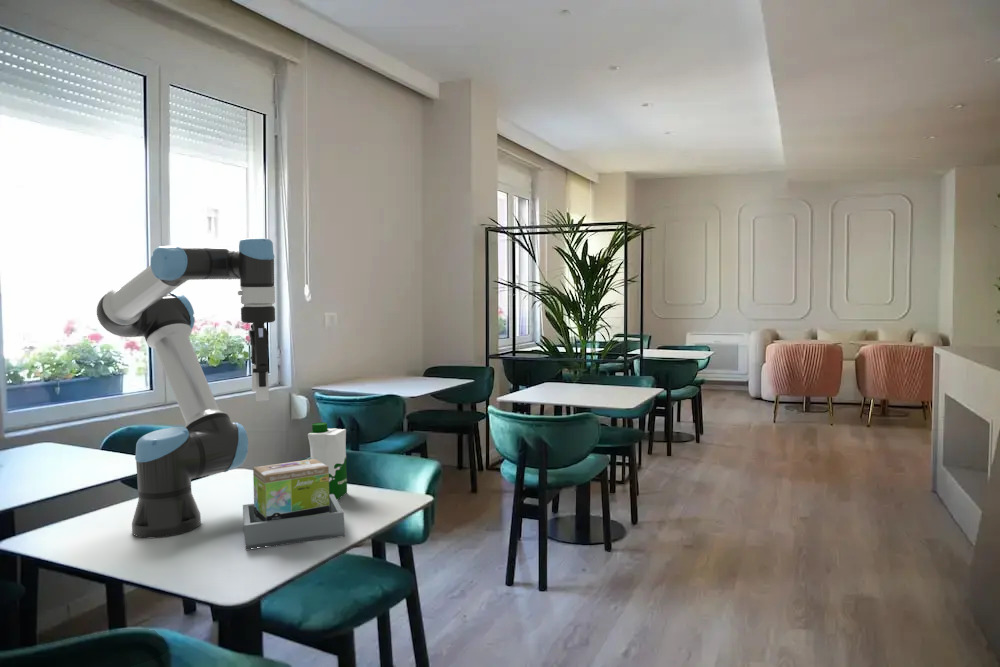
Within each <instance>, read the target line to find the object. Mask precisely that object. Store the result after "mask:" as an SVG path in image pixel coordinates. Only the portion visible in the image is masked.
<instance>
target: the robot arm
mask: <svg viewBox="0 0 1000 667" xmlns="http://www.w3.org/2000/svg"><path fill="white" fill-rule="evenodd" d="M190 280H191V281H192V280H239V283H240V284H239V286H240V290H238V291H237V295H238V296H240V303H241V305H243V306H241V308H240V315H241V316H240V321H241V322H242V323H244V324H250V330H248V333H249V334H248V336H249V343H250V346H251V347H250V351H251V352H250V353H251V354H250V360H251V362H250V363H251V390H252V392H255V401H256V402H265V401H267V402H268V401H270V397H269V396H270V394H269V390H270V389H269V388H270V387H269V369H270V367H269V357H268V356H269V355H268V347H269V342H268V340H269V339H268V338H269V331H268V329H267V328H266V327H265V323H266V324H267V323H268V324H269V323H274V322H275V321H276V307H275V306H274V305H273V304H275V303H276V291H275V290H276V289H275V288H276V287H275V254H274V243H273V241H272V240H271V239H270V238H263V237H262V238H261V237H260V238H259V237H258V238H256V237H254V238H253V237H251V238H250V237H247V238H245V237H244V238H243V237H242V238H241V239H240V240H239V242H238V247H233V246H232V247H230V246H227V247H225V246H223V247H221V246H219V247H218V246H212V247H211V246H186V245H172V244H171V245H165V246H164V245H163V246H158V247H156V248H155V249H154V250H153V252H152V255H151V256H150V265H149V266H147V267H146V268H145V269H143V270H142V271H141V272H140V273H138V274H137V275H136V276H134V277H133V278H132V279H131V280H129V281H128V282H127V283H126V284H124V285H123V286H122V287H120V288H114V289H111V290H110V291H108V292H107V293H106V294H104V295H103V296H102V297H100V299H99V301H98V303H97V307H96V316H97V320H98V322H99V324H100V325H101V326H102V327H103V328H104V329H105V330H106V331H107V332H109V333H110V334H112V335H115V336H117V337H123V338H136V337H139V338H140V337H143V338H144V340H145V342H146V344H147V346H148V347H149V348H151V349H154V350H155V351H156V352H157V356H158V357H159V360H160V363H161V366H162V367H163V369H164V372H165V375H166V377H167V380H168V382H169V385H170V387H171V389H172V390H171V391H172V392H173V394H174V397H175V400H176V403H177V405H178V407H179V410H180V412H181V415H182V417H183V420H184V421H185V422H184V423H185V426H184V427H183V426H173V427H169V428H166V427H165V428H161V429H156V430H154V431H150V432H148V433H146V434H144V435H142V436H141V437H139V439H138V440H137V442H136V444H135V457H134V460H135V465H136V479H137V491H138V492H137V493H138V497H137V498H138V500H137V503H136V507H135V510H134V515H133V518H132V522H131V532H132V535H134V534H135V535H137V536H136V537H138V536H141V537H140V538H146V537H155V538H164V537H165V538H166V537H171V536H176V535H181V534H184V533H187V532H190V531H192V530H195V529H196V528H198V527H199V526H200V525H201V524H202V523H201V522H202V519H201V512H200V509H199V507H198V505H197V502H196V501H195V498H194V495H193V493H192V492H193V491H192V480H193V479H197V478H202V477H205V476H210V475H215V474H218V473H219V474H220V473H226V472H229V471H231V470H233V469H236V468H237V469H238V468H240V467H241V466H242V465H243V464H244V462H245V461H246V459H247V455H248V452H249V451H248V450H249V437H248V433H247V430H246V429H245V427H244V426H243V424H241V423H239V422H232V421H231V417H230V416H229V414H228V413H227V412H225V411H222V410H220V408H219V405H218V404H217V402H216V399H215V396H214V394H213V392H212V389H211V387H210V385H209V382H208V380H207V378H206V376H205V373H204V371H203V368H202V365H201V364H200V361H199V359H198V356H197V354H196V351H195V349H194V347H193V344H192V342H191V340H190V336H191V335H192V333H193V331H192V330H193V328H194V326H195V321H196V320H195V316H194V314H195V312H194V311H195V310H194V308H193V305H192V303H191V302H190V300H189V299H188V297H186V296H185V295H184V294H182V293H179V292H176V291H175V289H177V288H178V287H180V286H181V285H182V284H185V283H186V282H187V281H190ZM174 291H175V292H174ZM135 535H134V536H135Z"/></svg>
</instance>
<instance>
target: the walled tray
mask: <svg viewBox="0 0 1000 667" xmlns="http://www.w3.org/2000/svg"><path fill="white" fill-rule="evenodd" d="M329 502H330V513H325V514H317V515H309V516H301V517H294V518H286V519H278V520H270V521H263V522H255V520H254V503H248V504H247V503H246V504H242V516H243V517H242V518H243V520H242V521H243V533H244V546H245V545H246V546H245V550H246V549H250V550H252V549H251V548H257V547H264V548H266V547H265V546H271V547H278V546H283V545H292V544H299V543H306V542H307V543H308V542H313V541H318V540H319V541H320V540H327V539H333V538H340V537H341V536H342V537H345V513H344V510H343V508H342V507H341V505H340V503H339V501H338V500H337V499H336V498H335V496H334V494H329ZM276 545H277V546H276ZM257 549H258V548H257Z"/></svg>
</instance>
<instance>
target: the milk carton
mask: <svg viewBox="0 0 1000 667" xmlns="http://www.w3.org/2000/svg"><path fill="white" fill-rule="evenodd" d="M311 427H312V430H311V432H309V433H307V438H308V442H309V448H310V449H309V450H310V459H316V460H318V461H319V462H321V463H323V464H325V465H326V466H328V467H329V494H334V496H335V498H336V499H338V498H339V499H340V497H341V496H342V497H343V496H345V495H346V494H348V475H347V472H348V470H347V469H348V468H347V449H346V448H347V445H346V442H347V440H346V439H347V429H346V428H343V429H342V428H336V427H335V428H328V423H327V422H323V421H322V422H315V423H312V424H311ZM345 493H346V494H345ZM344 494H345V495H344ZM342 497H341V498H342ZM339 499H338V500H339Z"/></svg>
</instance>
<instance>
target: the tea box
mask: <svg viewBox="0 0 1000 667" xmlns="http://www.w3.org/2000/svg"><path fill="white" fill-rule="evenodd" d="M252 468H253V471H252V472H253V474H252V475H253V477H252V478H253V480H252V481H253V504H254V520H255V522H263V521H270V520H278V519H286V518H294V517H301V516H309V515H317V514H325V513H330V502H329V467H328V466H326V465H325V464H323V463H321V462H319V461H318V460H316V459H311V458H310V459H304V460H297V461H295V460H294V461H288V462H282V463H281V462H280V463H276V464H275V463H274V464H267V465H260V466H254V467H252Z"/></svg>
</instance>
